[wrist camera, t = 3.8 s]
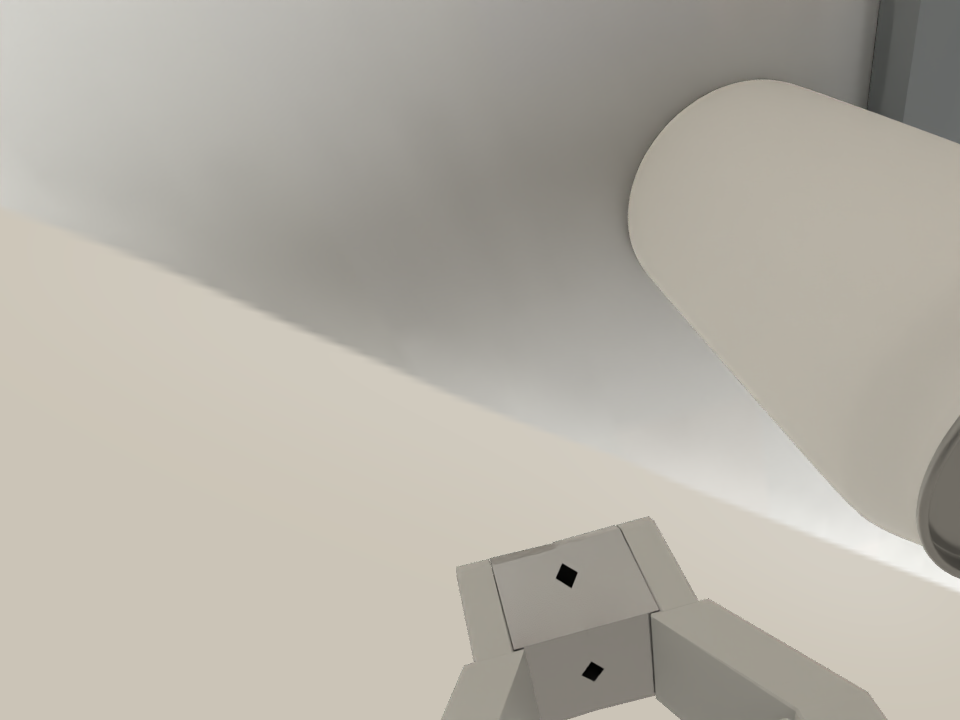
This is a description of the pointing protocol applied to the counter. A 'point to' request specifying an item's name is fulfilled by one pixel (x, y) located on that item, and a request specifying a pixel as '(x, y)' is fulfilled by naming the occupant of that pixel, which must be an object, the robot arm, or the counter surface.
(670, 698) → the robot arm
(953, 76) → the tray
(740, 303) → the can
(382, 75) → the counter surface
